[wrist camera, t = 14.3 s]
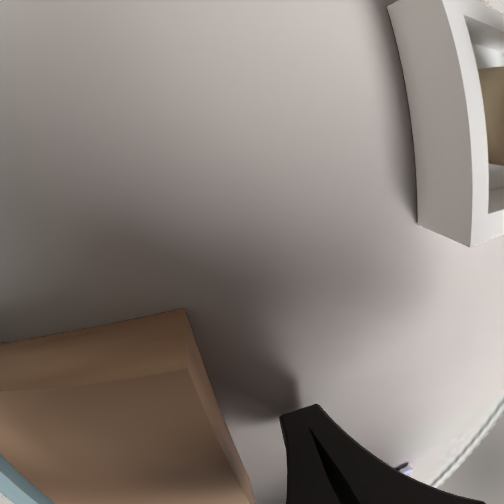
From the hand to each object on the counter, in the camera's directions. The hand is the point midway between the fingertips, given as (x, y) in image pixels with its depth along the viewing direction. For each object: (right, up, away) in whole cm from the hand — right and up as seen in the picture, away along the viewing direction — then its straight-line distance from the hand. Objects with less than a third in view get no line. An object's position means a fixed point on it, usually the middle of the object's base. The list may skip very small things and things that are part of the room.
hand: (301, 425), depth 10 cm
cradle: (+7, +11, -1) cm, 13 cm away
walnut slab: (-7, -1, 0) cm, 7 cm away
